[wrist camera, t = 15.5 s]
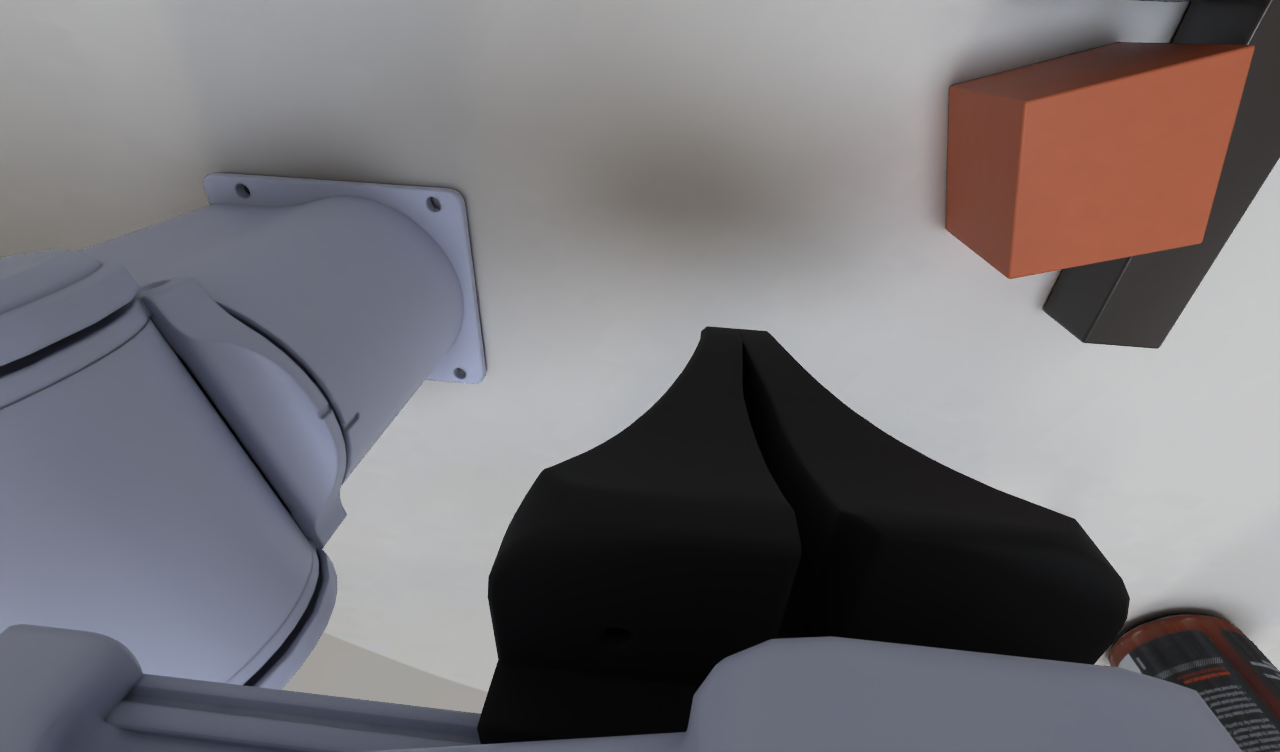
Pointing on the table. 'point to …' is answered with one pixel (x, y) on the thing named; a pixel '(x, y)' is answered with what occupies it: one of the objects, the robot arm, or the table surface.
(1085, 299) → the straight edge
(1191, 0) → the charcoal block
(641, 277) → the table surface
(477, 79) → the table surface
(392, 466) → the table surface
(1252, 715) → the supplement bottle
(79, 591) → the robot arm
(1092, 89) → the terracotta block
